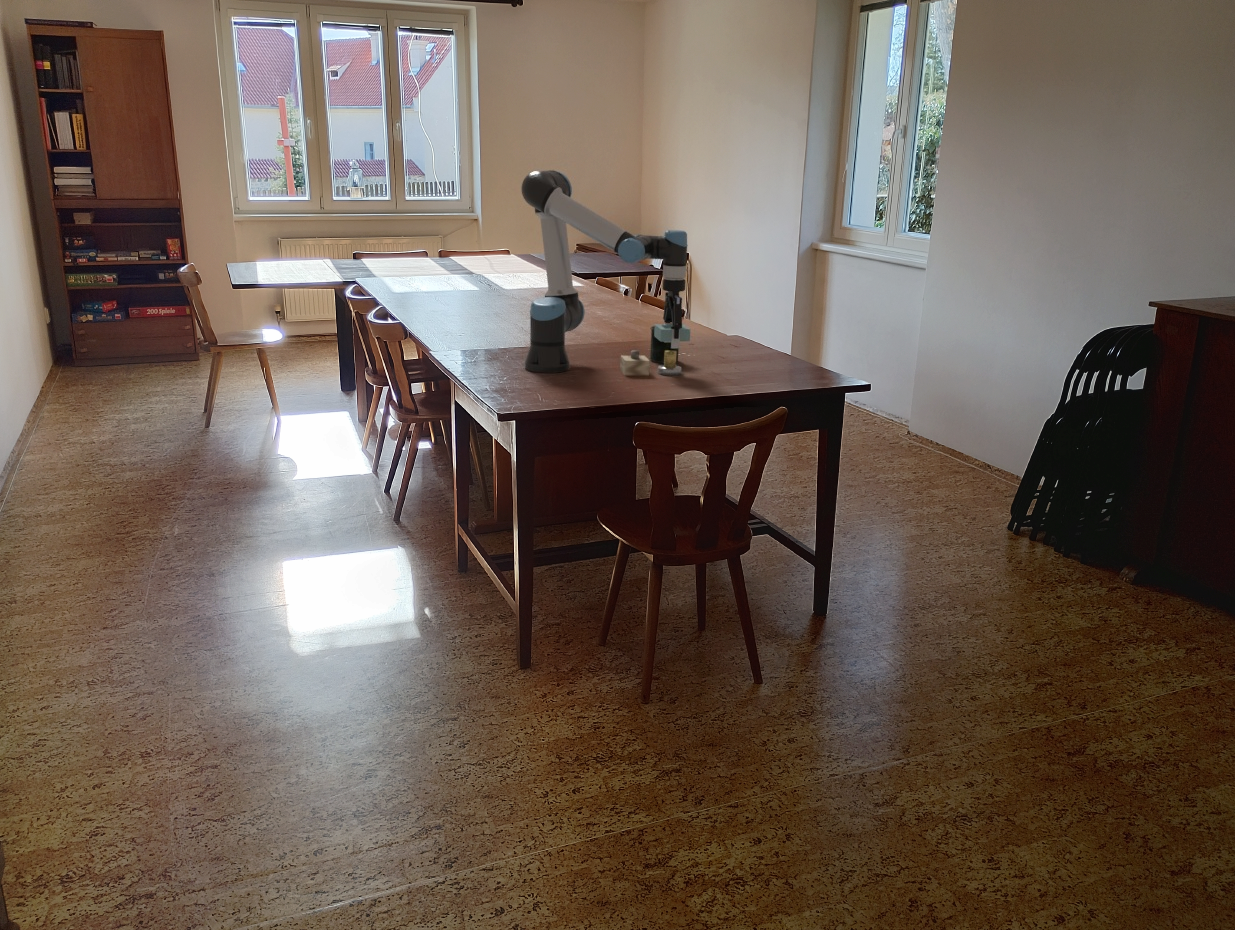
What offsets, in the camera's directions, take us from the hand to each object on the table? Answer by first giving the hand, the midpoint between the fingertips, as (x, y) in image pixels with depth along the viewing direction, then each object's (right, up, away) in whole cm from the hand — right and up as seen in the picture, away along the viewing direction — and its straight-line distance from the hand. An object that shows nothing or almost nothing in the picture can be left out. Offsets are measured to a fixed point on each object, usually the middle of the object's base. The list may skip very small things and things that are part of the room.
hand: (671, 345), depth 319 cm
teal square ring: (0, +2, -1) cm, 2 cm away
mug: (-2, -3, +23) cm, 23 cm away
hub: (0, -9, +3) cm, 10 cm away
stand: (-12, -9, +2) cm, 16 cm away
